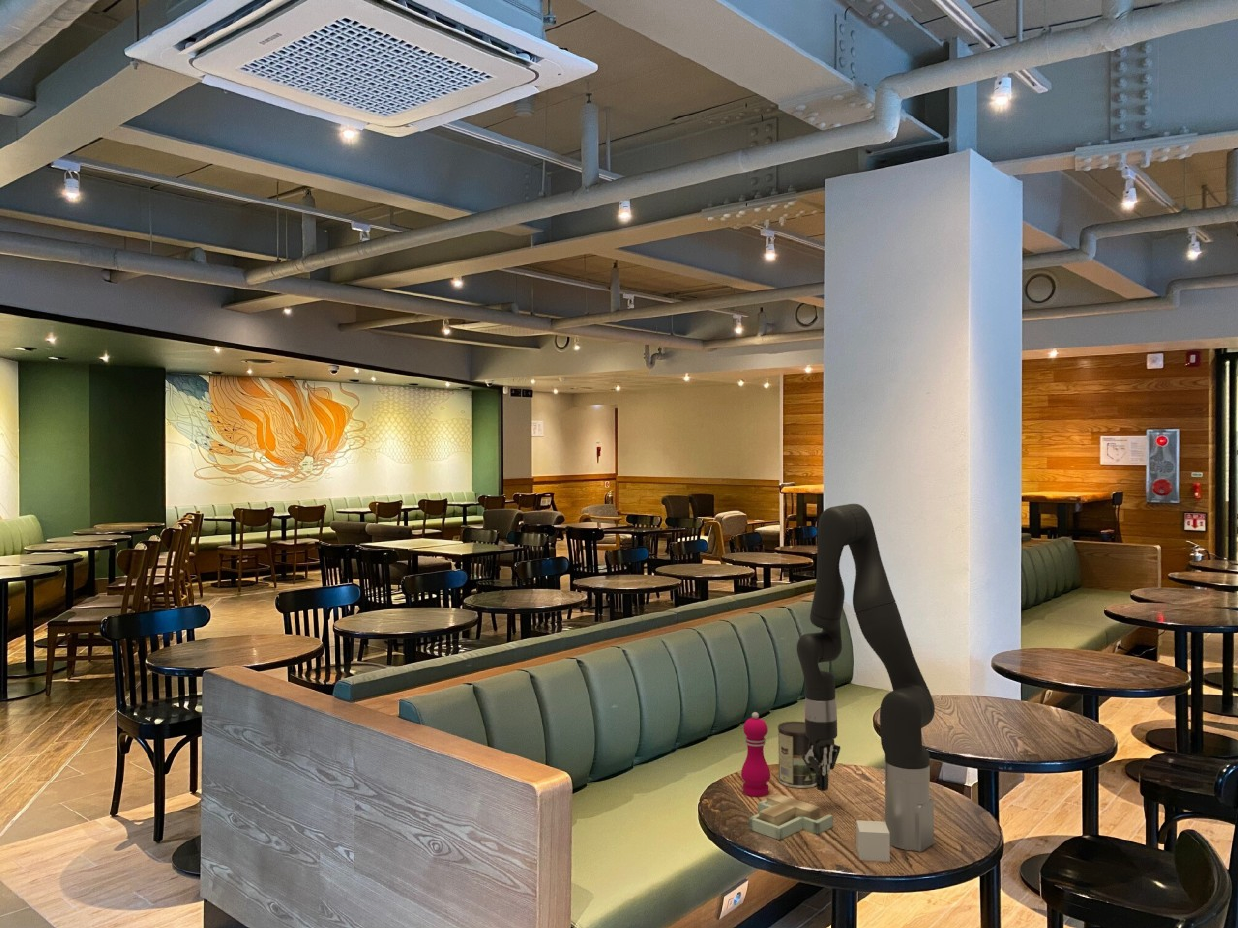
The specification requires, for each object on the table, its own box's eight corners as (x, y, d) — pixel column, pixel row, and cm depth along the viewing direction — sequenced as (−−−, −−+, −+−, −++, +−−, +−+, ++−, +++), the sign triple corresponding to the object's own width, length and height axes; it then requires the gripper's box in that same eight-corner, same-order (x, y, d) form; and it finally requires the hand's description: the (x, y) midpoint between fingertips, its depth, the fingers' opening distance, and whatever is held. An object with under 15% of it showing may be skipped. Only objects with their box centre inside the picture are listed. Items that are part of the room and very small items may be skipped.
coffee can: (823, 778, 231) (823, 724, 231) (811, 791, 222) (811, 734, 222) (785, 771, 236) (785, 718, 236) (772, 783, 227) (772, 728, 227)
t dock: (832, 826, 201) (832, 815, 201) (794, 845, 190) (794, 834, 190) (773, 806, 212) (773, 796, 212) (734, 823, 202) (734, 812, 202)
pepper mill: (767, 798, 217) (767, 717, 217) (738, 795, 220) (738, 714, 220) (772, 788, 224) (772, 709, 224) (744, 785, 226) (743, 707, 226)
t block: (820, 824, 202) (819, 807, 202) (788, 840, 193) (788, 821, 193) (776, 809, 210) (776, 793, 210) (745, 824, 202) (745, 806, 202)
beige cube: (859, 860, 184) (859, 831, 184) (856, 848, 189) (855, 820, 189) (889, 862, 183) (889, 832, 183) (885, 849, 189) (884, 821, 189)
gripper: (817, 725, 204) (819, 800, 204) (849, 713, 213) (851, 786, 213) (791, 719, 210) (792, 792, 210) (823, 708, 219) (825, 778, 219)
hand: (822, 789), depth 211 cm, fingers closed
